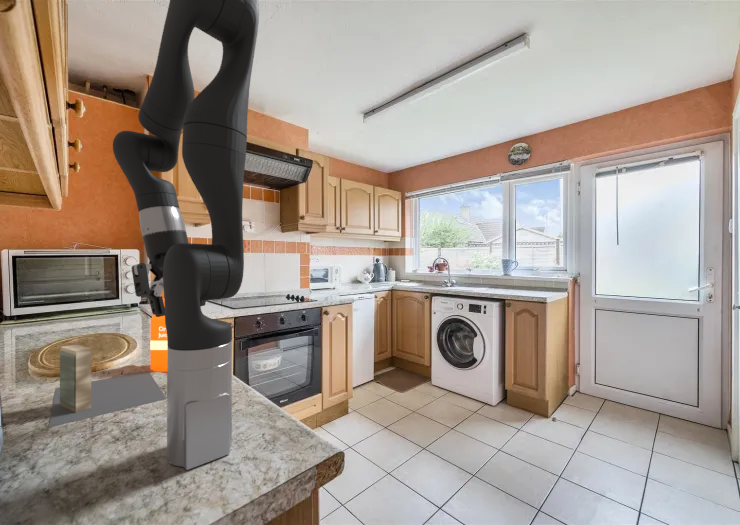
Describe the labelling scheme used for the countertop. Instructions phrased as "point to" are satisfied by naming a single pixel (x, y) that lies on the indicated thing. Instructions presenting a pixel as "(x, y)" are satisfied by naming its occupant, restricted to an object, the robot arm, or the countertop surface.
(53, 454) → the countertop surface
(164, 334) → the orange juice
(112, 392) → the rubber mat
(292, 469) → the countertop surface
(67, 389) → the birch plaque
